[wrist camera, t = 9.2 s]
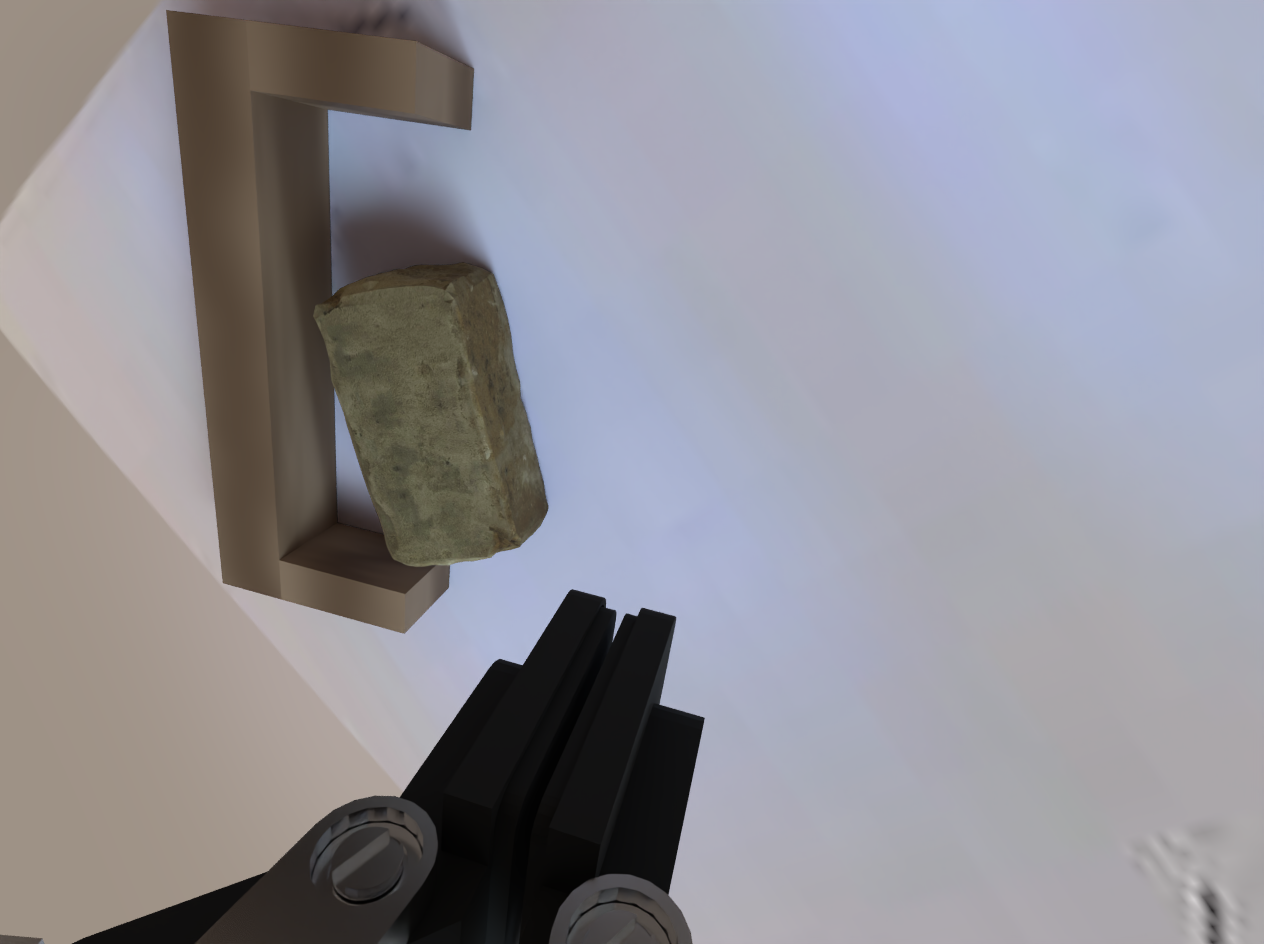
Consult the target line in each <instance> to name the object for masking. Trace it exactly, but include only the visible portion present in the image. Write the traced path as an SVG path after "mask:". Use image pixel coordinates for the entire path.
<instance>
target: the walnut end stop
mask: <svg viewBox="0 0 1264 944" xmlns="http://www.w3.org/2000/svg"><path fill="white" fill-rule="evenodd" d="M166 13H167V23H168V33H169V43H170V53H171V63H172V73H173V84H174V94H175V104H176V114H177V124H178V134H179V144H180V154H181V164H182V175H183V185H184V195H185V205H186V215H187V225H188V235H189V245H190V255H191V266H192V276H193V286H194V296H195V306H196V316H197V326H198V336H199V346H200V357H201V367H202V377H203V387H204V397H205V407H206V417H207V427H208V437H209V448H210V458H211V468H212V478H213V488H214V498H215V508H216V518H217V528H218V539H219V549H220V559H221V569H222V579H223V583H225V584H228V585H232V586H235V587H239V588H242V589H246V590H250V591H253V592H257V593H260V594H264V595H268V596H271V597H275V598H278V599H282V600H285V601H289V602H293V603H296V604H300V605H303V606H307V607H311V608H314V609H318V610H321V611H325V612H329V613H332V614H336V615H339V616H343V617H346V618H350V619H354V620H357V621H361V622H364V623H368V624H372V625H375V626H379V627H382V628H386V629H390V630H393V631H397V632H400V633H404V634H405V633H406V632H407V631H408V629H409V628H410V627H411V626H412V625H413V624H414V623H415V622H416V621H417V620H418V619H419V618H420V617H421V616H422V615H423V614H424V613H425V612H426V611H427V610H428V609H429V608H430V607H431V606H432V605H433V604H434V602H435V601H436V600H437V599H438V598H439V597H440V596H441V595H442V594H443V593H444V592H445V591H446V590H447V589H448V588H449V573H450V565H430V566H423V567H416V566H408V565H405V564H403V563H401V562H399V561H397V560H394V559H393V558H392V556H391V554H390V552H389V550H388V548H387V545H386V541H385V537H384V535H383V534H379V533H375V532H372V531H368V530H364V529H360V528H356V527H352V526H348V525H344V524H340V523H337V492H336V450H335V407H334V386H333V383H332V380H331V370H330V360H329V356H328V352H327V348H326V345H325V342H324V338H323V336H322V334H321V331H320V329H319V327H318V325H317V323H316V321H315V319H314V317H313V315H314V310H315V306H316V305H317V304H321V303H323V302H324V301H326V300H327V299H329V298H330V297H332V279H331V236H330V194H329V151H328V110H334V111H341V112H348V113H355V114H362V115H369V116H376V117H382V118H389V119H396V120H403V121H410V122H417V123H424V124H431V125H438V126H445V127H451V128H458V129H465V130H471V119H472V99H473V78H474V69H473V68H471V67H469V66H467V65H464V64H462V63H460V62H458V61H456V60H454V59H452V58H450V57H448V56H446V55H444V54H442V53H440V52H438V51H436V50H434V49H432V48H430V47H427V46H425V45H423V44H421V43H419V42H417V41H412V40H403V39H395V38H387V37H379V36H371V35H363V34H355V33H347V32H339V31H331V30H323V29H315V28H307V27H298V26H290V25H282V24H274V23H266V22H258V21H250V20H242V19H234V18H226V17H218V16H210V15H201V14H193V13H185V12H177V11H169V10H166Z"/></svg>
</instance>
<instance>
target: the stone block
mask: <svg viewBox="0 0 1264 944" xmlns="http://www.w3.org/2000/svg"><path fill="white" fill-rule="evenodd" d="M313 317H314V319H315V321H316V323H317V325H318V327H319V329H320V331H321V334H322V336H323V338H324V342H325V345H326V348H327V352H328V356H329V360H330V370H331V380H332V383H333V386H334V388H335V391H336V394H337V396H338V399H339V402H340V404H341V407H342V410H343V412H344V416H345V419H346V423H347V427H348V430H349V433H350V436H351V440H352V443H353V446H354V449H355V452H356V456H357V459H358V462H359V465H360V468H361V471H362V474H363V477H364V480H365V483H366V486H367V489H368V492H369V494H370V497H371V500H372V502H373V505H374V507H375V510H376V512H377V515H378V517H379V520H380V523H381V526H382V529H383V533H384V537H385V541H386V545H387V548H388V550H389V552H390V554H391V556H392V558H393V559H394V560H397V561H399V562H401V563H403V564H405V565H408V566H416V567H423V566H430V565H451V564H454V563H458V562H463V561H476V560H481V559H486V558H491V557H492V556H493V555H494V554H495V553H497V552H501V551H506V550H511V549H515V548H518V547H520V546H521V545H522V543H524V542H525V541H526V540H527V539H528V538H529V537H530V536H531V535H533V534H534V532H535V531H536V530H537V529H538V528H539V527H540V526H541V524H542V522H543V520H544V518H545V516H546V514H547V511H548V503H547V500H546V496H545V489H544V482H543V479H542V475H541V472H540V468H539V463H538V459H537V455H536V451H535V448H534V445H533V441H532V434H531V427H530V424H529V422H528V418H527V414H526V411H525V409H524V406H523V404H522V401H521V399H520V381H519V378H518V374H517V371H516V367H515V361H514V356H513V350H512V340H511V333H510V328H509V323H508V318H507V314H506V311H505V307H504V303H503V300H502V297H501V294H500V291H499V288H498V285H497V283H496V280H495V277H494V274H492V273H491V272H489V271H487V270H485V269H483V268H480V267H477V266H474V265H471V264H467V263H464V262H462V263H457V264H451V265H415V266H412V267H408V268H406V269H396V270H392V271H389V272H384V273H380V274H377V275H374V276H369V277H366V278H364V279H361V280H359V281H356V282H354V283H351V284H348V285H346V286H344V287H342V288H340V289H339V290H338V291H337V292H336V293H335V294H334V295H333V296H332V297H330V298H329V299H327V300H326V301H324V302H323V303H321V304H317V305H316V306H315V310H314V315H313Z"/></svg>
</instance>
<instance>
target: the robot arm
mask: <svg viewBox="0 0 1264 944" xmlns="http://www.w3.org/2000/svg"><path fill="white" fill-rule="evenodd" d="M615 621H616V611H615V610H612V609H608V608H606V599H605V598H603V597H600V596H596V595H592V594H588V593H584V592H581V591H577V590H573V589H572V590H570V591H569V593H568V594H567V595H566V597H565V599H564V600H563V602H562V603H561V605H560V607H559V608H558V610H557V611H556V613H555V615H554V616H553V618H552V619H551V621H550V623H549V624H548V626H547V627H546V629H545V631H544V632H543V634H542V635H541V637H540V639H539V640H538V642H537V643H536V645H535V647H534V648H533V650H532V651H531V653H530V655H529V656H528V658H527V659H526V661H525V663H524V664H523V665H519V664H516V663H512V662H509V661H505V660H502V659H499V660H497V661H495V662H494V663H493V664H492V666H491V667H490V668H489V669H488V671H487V672H486V674H485V675H484V677H483V678H482V679H481V681H480V682H479V684H478V685H477V687H476V688H475V690H474V691H473V692H472V694H471V695H470V697H469V698H468V700H467V701H466V703H465V704H464V705H463V707H462V708H461V710H460V711H459V713H458V714H457V715H456V717H455V718H454V720H453V721H452V723H451V724H450V726H449V727H448V728H447V730H446V731H445V733H444V734H443V736H442V737H441V739H440V740H439V741H438V743H437V744H436V746H435V747H434V749H433V750H432V752H431V753H430V754H429V756H428V757H427V759H426V760H425V762H424V763H423V765H422V766H421V767H420V769H419V770H418V772H417V773H416V775H415V776H414V777H413V779H412V780H411V782H410V783H409V785H408V786H407V788H406V789H405V790H404V792H403V793H402V795H401V796H400V798H399V797H396V796H372V797H368V798H363V799H358V800H354V801H352V802H350V803H348V804H345V805H343V806H341V807H339V808H337V809H335V810H333V811H332V812H331V813H329V814H328V815H327V816H325V817H324V818H323V819H322V820H320V821H319V822H318V823H316V824H315V825H314V826H313V827H312V828H311V829H310V830H309V831H308V832H307V833H306V834H305V835H304V836H303V837H302V838H301V839H300V840H299V841H298V842H297V843H296V844H295V845H294V846H293V847H292V848H291V849H290V850H289V851H288V852H287V853H286V854H285V855H284V856H283V857H282V858H281V859H280V860H279V861H278V862H277V863H276V864H275V865H274V866H273V867H272V868H271V869H270V870H269V871H268V872H265V873H262V874H260V875H257V876H255V877H251V878H249V879H246V880H243V881H241V882H238V883H235V884H232V885H230V886H227V887H224V888H221V889H218V890H216V891H213V892H210V893H207V894H204V895H202V896H199V897H196V898H193V899H191V900H188V901H185V902H182V903H180V904H177V905H174V906H172V907H168V908H166V909H163V910H160V911H158V912H155V913H152V914H149V915H146V916H144V917H141V918H138V919H135V920H133V921H130V922H127V923H124V924H121V925H119V926H116V927H113V928H110V929H108V930H105V931H102V932H99V933H96V934H94V935H91V936H89V937H85V938H83V939H81V940H79V941H77V942H74V943H72V944H692V937H691V932H690V929H689V927H688V925H687V923H686V920H685V918H684V916H683V914H682V911H681V910H680V909H679V908H678V906H677V905H676V904H675V903H674V901H673V900H672V899H671V898H670V897H669V895H668V894H669V889H670V884H671V879H672V874H673V870H674V865H675V860H676V855H677V850H678V845H679V841H680V836H681V831H682V826H683V821H684V816H685V811H686V807H687V802H688V797H689V792H690V787H691V782H692V778H693V773H694V768H695V763H696V758H697V753H698V748H699V744H700V739H701V734H702V729H703V724H704V719H705V718H704V717H700V716H697V715H693V714H690V713H686V712H683V711H679V710H676V709H672V708H669V707H666V706H662V705H659V704H660V699H661V694H662V689H663V684H664V679H665V674H666V669H667V664H668V659H669V653H670V648H671V643H672V638H673V633H674V628H675V623H676V617H675V616H672V615H668V614H664V613H660V612H656V611H653V610H649V609H645V608H641V610H640V612H639V614H638V616H634V615H630V614H625V616H624V618H623V620H622V623H621V625H620V627H619V629H618V631H617V634H616V636H615V638H614V640H613V634H614V628H615ZM612 641H613V642H612ZM0 944H44V942H43V939H42V938H31V937H19V936H8V935H0Z"/></svg>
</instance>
